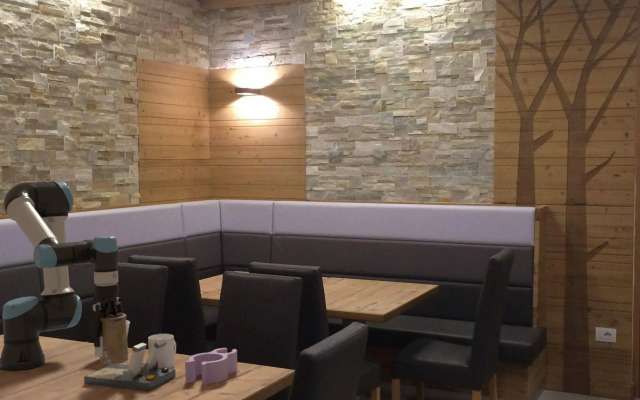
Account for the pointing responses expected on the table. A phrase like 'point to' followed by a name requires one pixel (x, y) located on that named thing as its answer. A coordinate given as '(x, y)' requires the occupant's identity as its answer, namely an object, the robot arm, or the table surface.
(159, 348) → the toggle
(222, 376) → the clip
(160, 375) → the panel
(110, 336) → the mug
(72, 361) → the table surface
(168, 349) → the mug
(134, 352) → the toggle
